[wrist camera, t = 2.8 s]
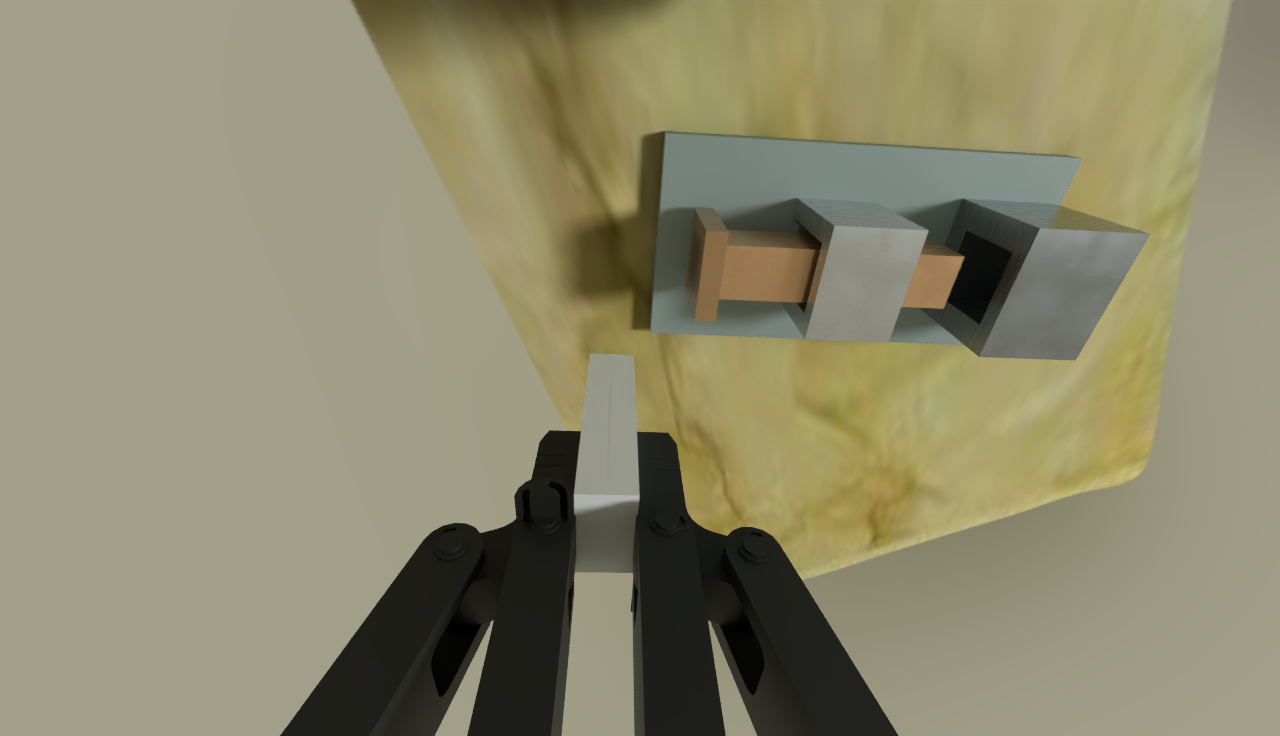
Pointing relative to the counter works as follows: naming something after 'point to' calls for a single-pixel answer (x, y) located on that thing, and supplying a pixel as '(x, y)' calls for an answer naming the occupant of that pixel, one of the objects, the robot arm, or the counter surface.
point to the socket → (1032, 277)
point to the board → (796, 168)
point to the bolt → (785, 267)
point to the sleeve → (855, 269)
